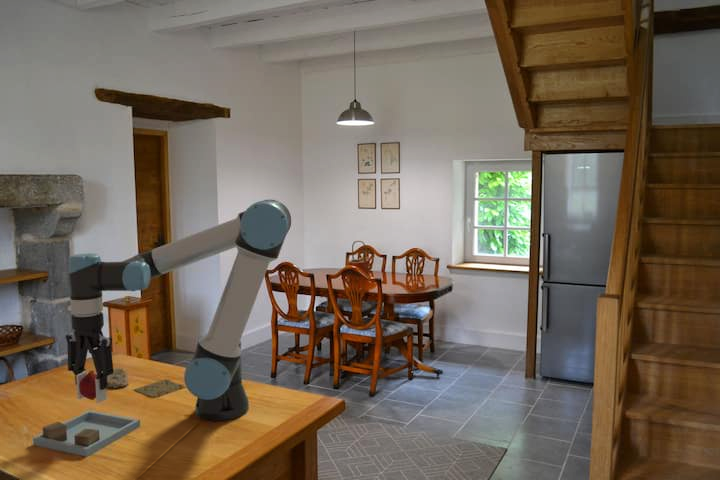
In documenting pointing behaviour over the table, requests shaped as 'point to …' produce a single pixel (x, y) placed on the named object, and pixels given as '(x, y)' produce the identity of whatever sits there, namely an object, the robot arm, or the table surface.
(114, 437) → the dish
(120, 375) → the rock
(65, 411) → the table surface
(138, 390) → the speckled stone tile
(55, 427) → the walnut cube
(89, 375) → the onion
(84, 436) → the walnut cube
